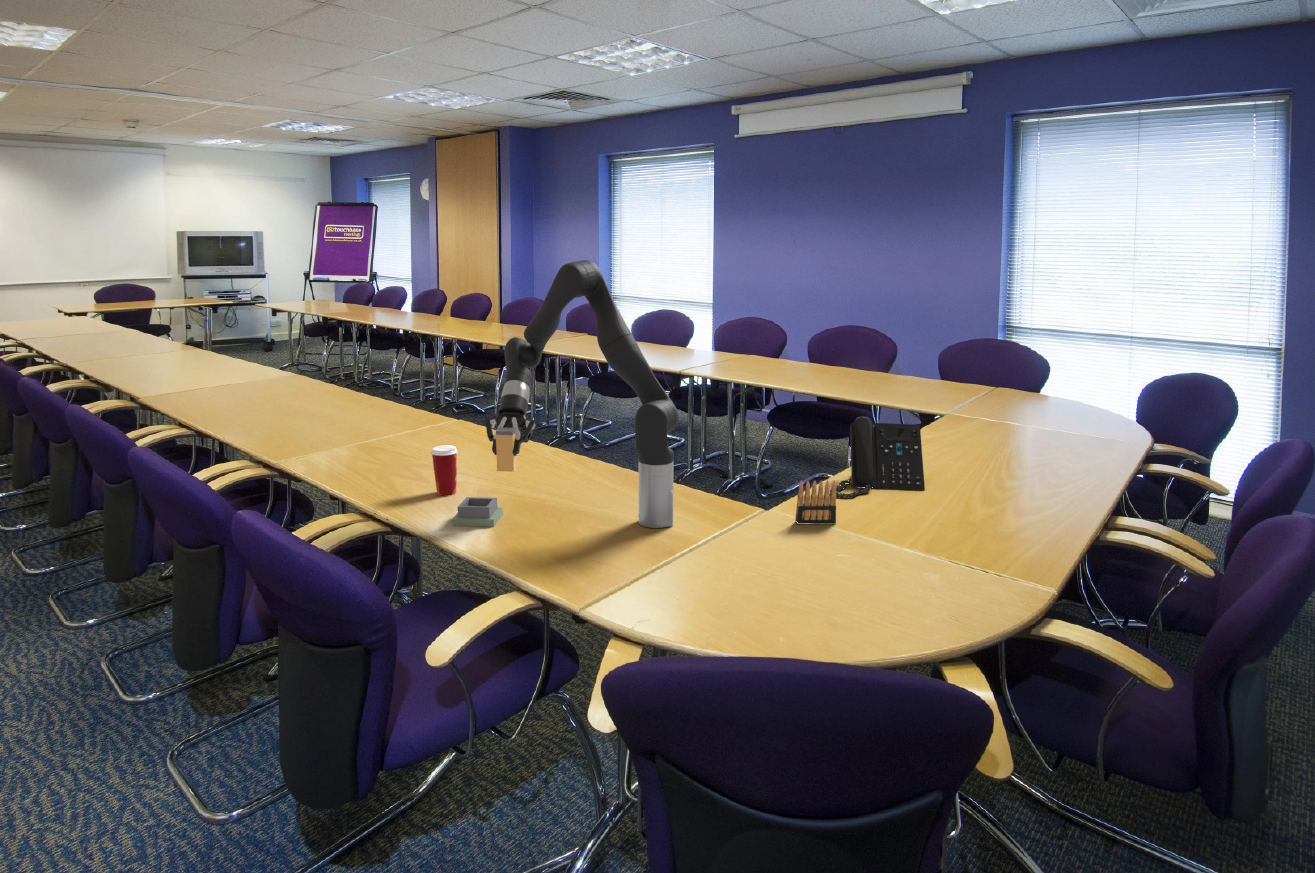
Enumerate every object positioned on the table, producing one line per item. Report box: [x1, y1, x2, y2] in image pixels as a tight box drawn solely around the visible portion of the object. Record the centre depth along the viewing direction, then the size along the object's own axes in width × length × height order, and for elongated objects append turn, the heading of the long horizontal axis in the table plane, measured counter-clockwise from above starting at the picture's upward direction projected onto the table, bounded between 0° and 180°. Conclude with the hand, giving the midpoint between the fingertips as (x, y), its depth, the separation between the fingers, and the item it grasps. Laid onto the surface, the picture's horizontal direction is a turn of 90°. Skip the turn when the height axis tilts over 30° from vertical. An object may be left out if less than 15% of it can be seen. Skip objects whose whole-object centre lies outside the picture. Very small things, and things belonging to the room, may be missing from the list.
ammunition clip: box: [794, 479, 837, 523], centre depth 216 cm, size 11×2×12 cm, turn 93°
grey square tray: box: [452, 496, 504, 528], centre depth 217 cm, size 11×10×5 cm
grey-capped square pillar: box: [495, 427, 519, 473], centre depth 215 cm, size 4×4×11 cm
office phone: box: [829, 416, 926, 499], centre depth 248 cm, size 29×28×20 cm
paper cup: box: [430, 444, 458, 496], centre depth 239 cm, size 8×8×14 cm
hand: (505, 453), depth 214 cm, fingers closed on grey-capped square pillar, 4 cm apart
